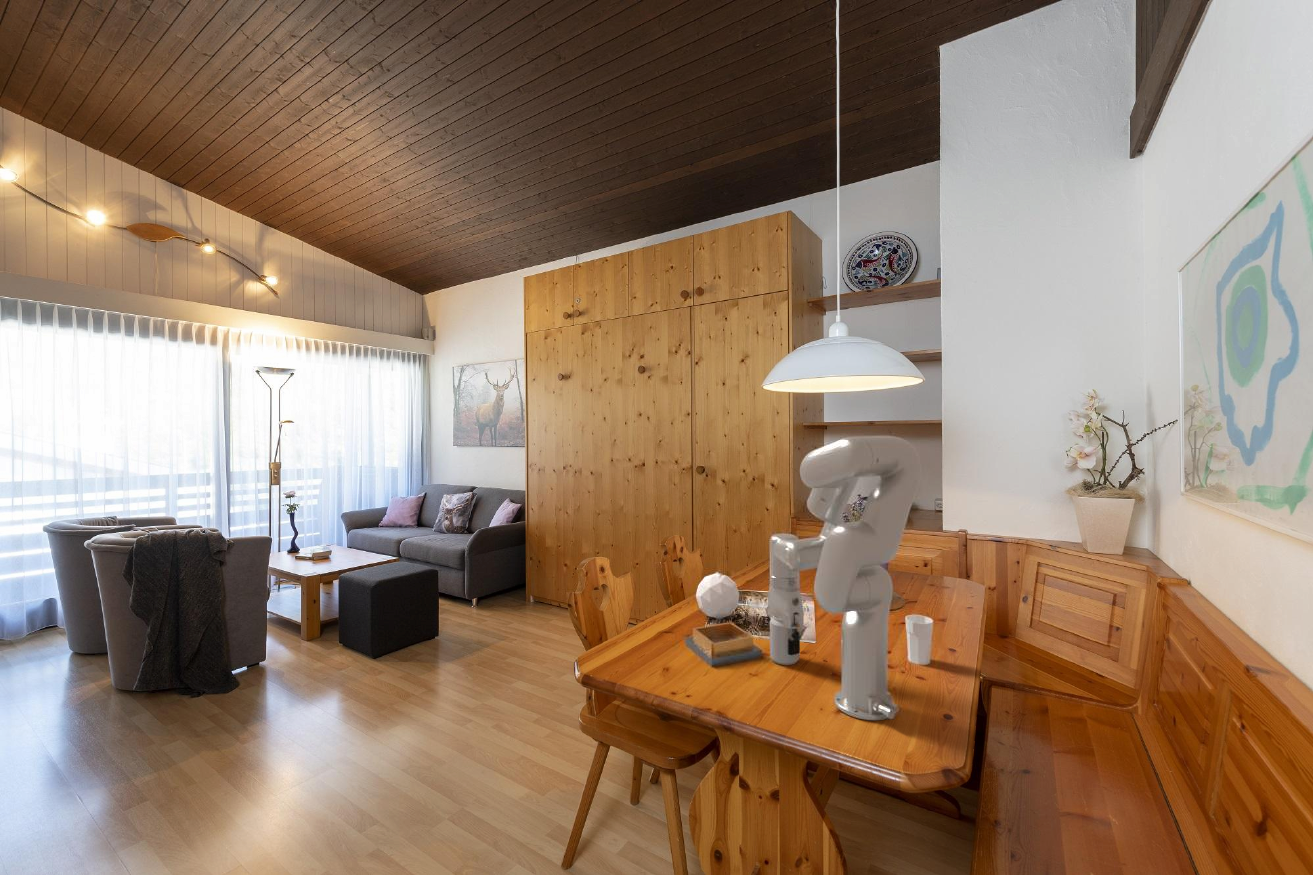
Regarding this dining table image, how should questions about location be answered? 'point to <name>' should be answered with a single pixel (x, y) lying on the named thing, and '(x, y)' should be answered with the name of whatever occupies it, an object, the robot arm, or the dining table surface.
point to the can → (780, 643)
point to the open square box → (723, 644)
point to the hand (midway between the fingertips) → (784, 647)
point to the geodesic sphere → (717, 595)
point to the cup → (919, 638)
